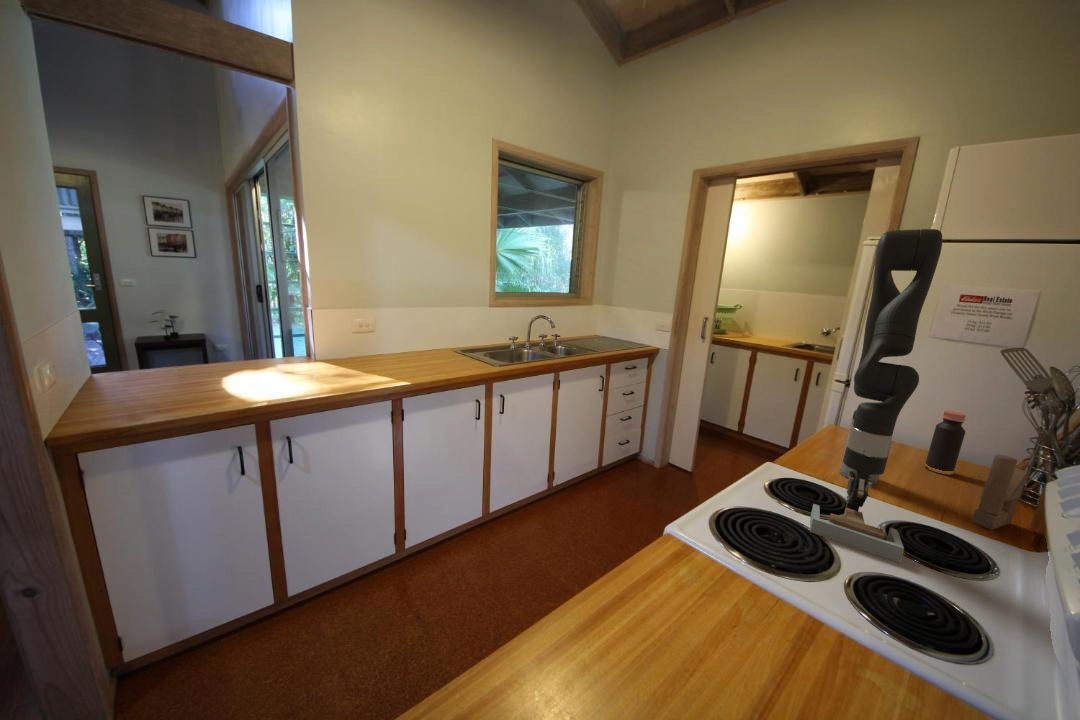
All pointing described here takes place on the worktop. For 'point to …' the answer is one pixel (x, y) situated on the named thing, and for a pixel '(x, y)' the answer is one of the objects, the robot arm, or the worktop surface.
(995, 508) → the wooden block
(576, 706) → the worktop surface
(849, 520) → the t block
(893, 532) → the bracket
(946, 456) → the bottle
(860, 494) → the robot arm
